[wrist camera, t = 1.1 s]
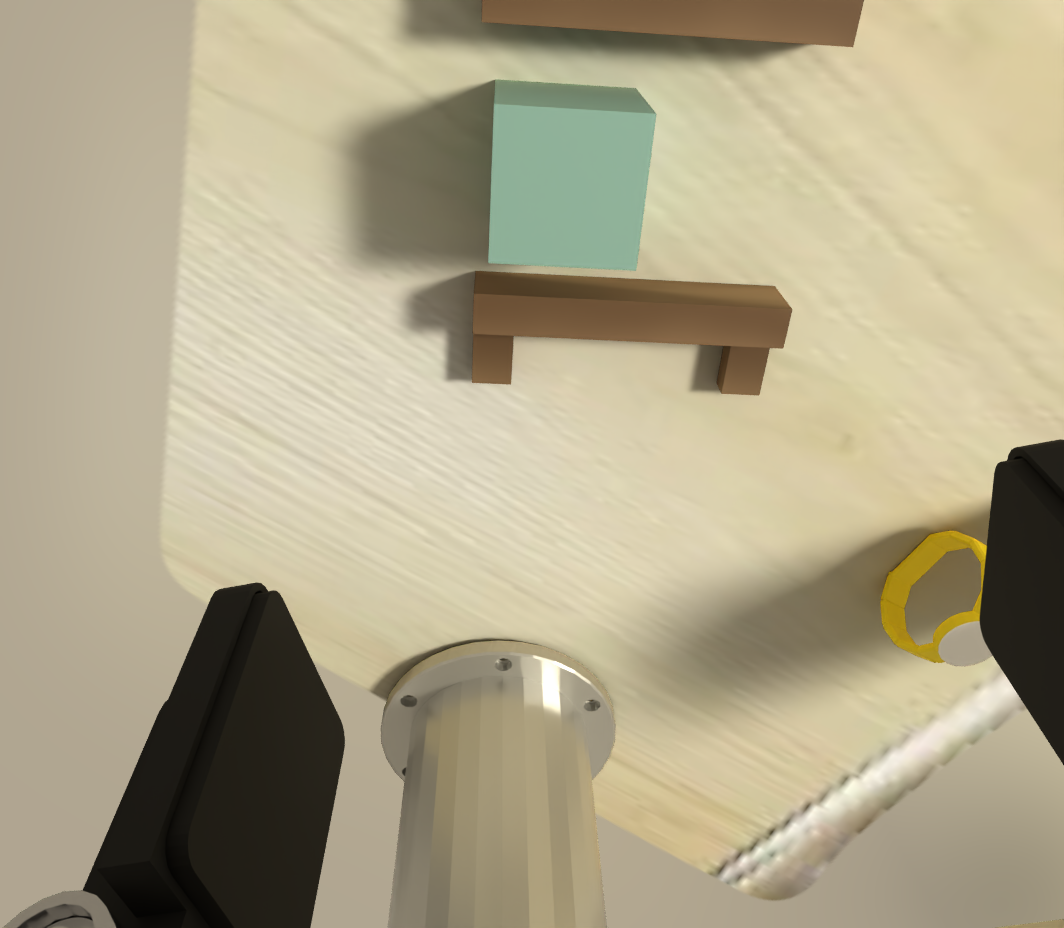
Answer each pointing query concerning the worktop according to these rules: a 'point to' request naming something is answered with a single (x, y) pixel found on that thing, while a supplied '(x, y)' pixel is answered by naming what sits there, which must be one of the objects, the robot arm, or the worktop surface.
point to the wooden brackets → (635, 304)
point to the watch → (956, 634)
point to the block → (568, 174)
